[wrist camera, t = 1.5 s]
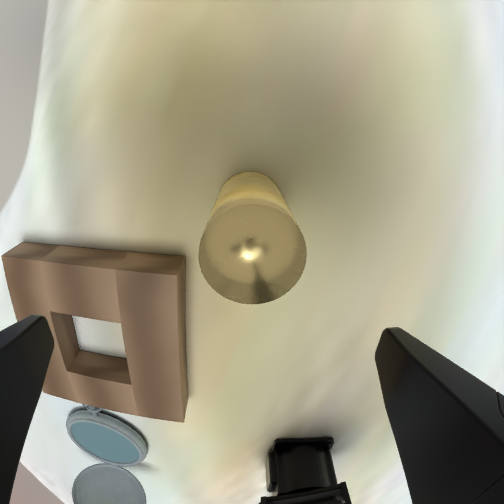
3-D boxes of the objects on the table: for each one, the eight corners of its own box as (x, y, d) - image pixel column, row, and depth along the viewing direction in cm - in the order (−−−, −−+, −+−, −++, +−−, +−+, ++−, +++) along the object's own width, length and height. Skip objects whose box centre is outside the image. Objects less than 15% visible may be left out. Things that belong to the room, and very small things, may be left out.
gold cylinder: (284, 175, 20) (314, 209, 11) (277, 235, 21) (297, 307, 13) (220, 169, 19) (200, 199, 11) (216, 230, 21) (197, 299, 12)
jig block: (185, 256, 21) (176, 275, 19) (188, 398, 27) (183, 422, 24) (22, 241, 21) (1, 255, 18) (55, 373, 26) (43, 392, 23)
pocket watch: (66, 518, 22) (11, 459, 16) (87, 456, 32) (53, 383, 27) (144, 541, 22) (111, 496, 17) (156, 472, 33) (139, 403, 27)
